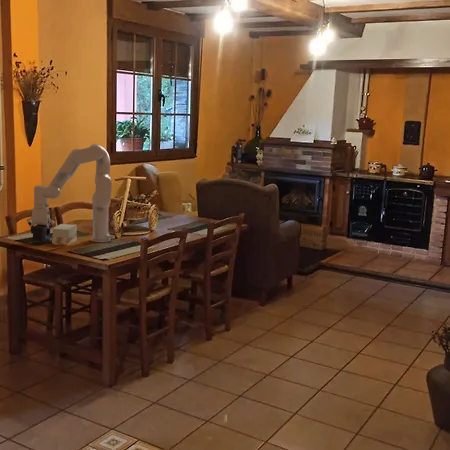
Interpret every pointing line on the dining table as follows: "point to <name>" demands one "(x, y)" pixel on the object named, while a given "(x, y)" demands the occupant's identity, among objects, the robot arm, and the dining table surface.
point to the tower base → (64, 240)
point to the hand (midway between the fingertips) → (40, 233)
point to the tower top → (64, 230)
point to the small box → (40, 234)
